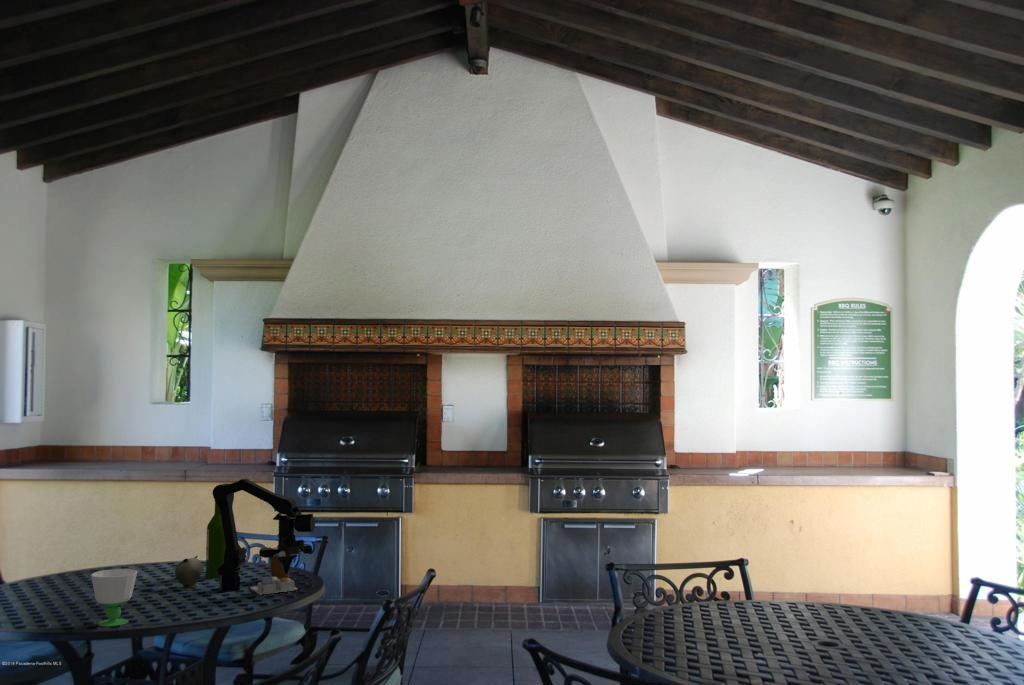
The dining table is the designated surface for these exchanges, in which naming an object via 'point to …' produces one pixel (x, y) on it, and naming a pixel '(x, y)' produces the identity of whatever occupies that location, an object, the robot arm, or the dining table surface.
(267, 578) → the slate button
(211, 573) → the wine bottle
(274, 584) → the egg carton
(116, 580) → the cup
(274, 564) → the disposable coffee cup
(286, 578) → the terracotta button
